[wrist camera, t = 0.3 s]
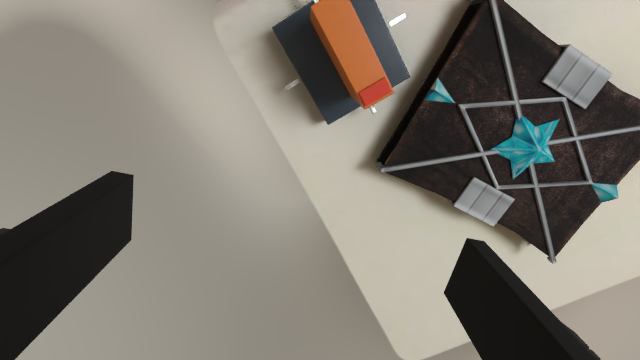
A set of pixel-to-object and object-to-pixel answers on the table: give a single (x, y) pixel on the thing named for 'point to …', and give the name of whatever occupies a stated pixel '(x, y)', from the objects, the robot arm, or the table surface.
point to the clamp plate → (319, 66)
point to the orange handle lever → (350, 51)
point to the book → (517, 129)
